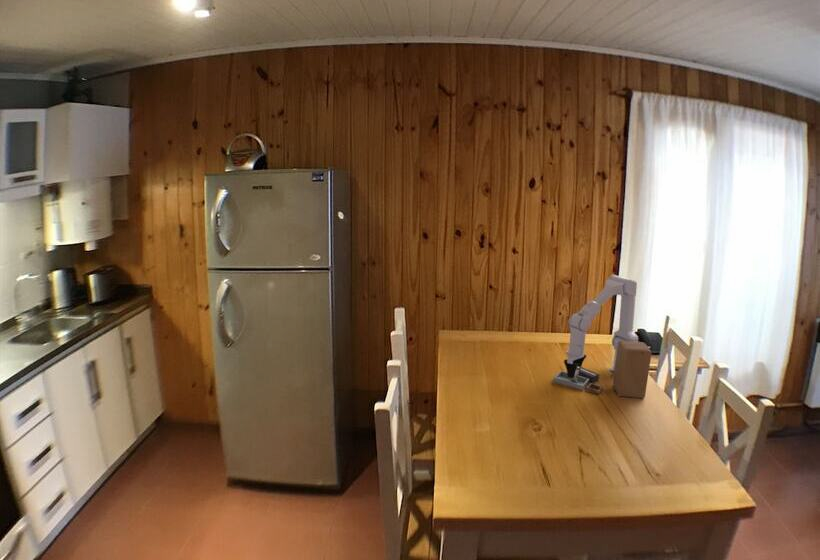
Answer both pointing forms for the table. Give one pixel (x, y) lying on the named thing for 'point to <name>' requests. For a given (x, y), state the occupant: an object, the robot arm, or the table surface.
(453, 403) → the table surface
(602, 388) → the collar
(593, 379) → the block
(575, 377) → the pin
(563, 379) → the tray
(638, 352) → the wooden block
